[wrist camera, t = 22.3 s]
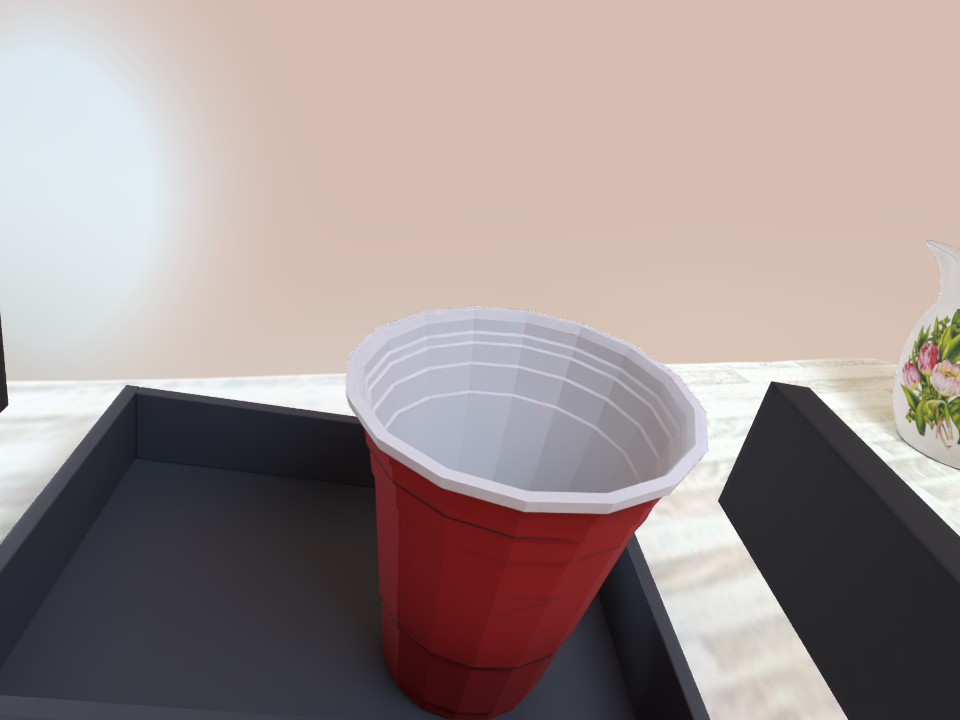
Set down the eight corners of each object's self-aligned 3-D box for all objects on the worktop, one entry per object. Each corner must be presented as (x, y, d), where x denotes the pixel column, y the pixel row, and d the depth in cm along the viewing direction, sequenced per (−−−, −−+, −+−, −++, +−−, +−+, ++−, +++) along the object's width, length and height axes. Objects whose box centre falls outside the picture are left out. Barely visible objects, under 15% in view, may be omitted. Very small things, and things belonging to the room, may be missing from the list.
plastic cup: (249, 617, 26) (275, 317, 21) (468, 525, 33) (527, 286, 28) (432, 885, 19) (537, 540, 14) (656, 695, 26) (779, 423, 21)
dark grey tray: (-106, 813, 18) (-131, 707, 17) (126, 460, 33) (125, 384, 31) (683, 849, 22) (730, 765, 20) (579, 515, 36) (601, 449, 35)
